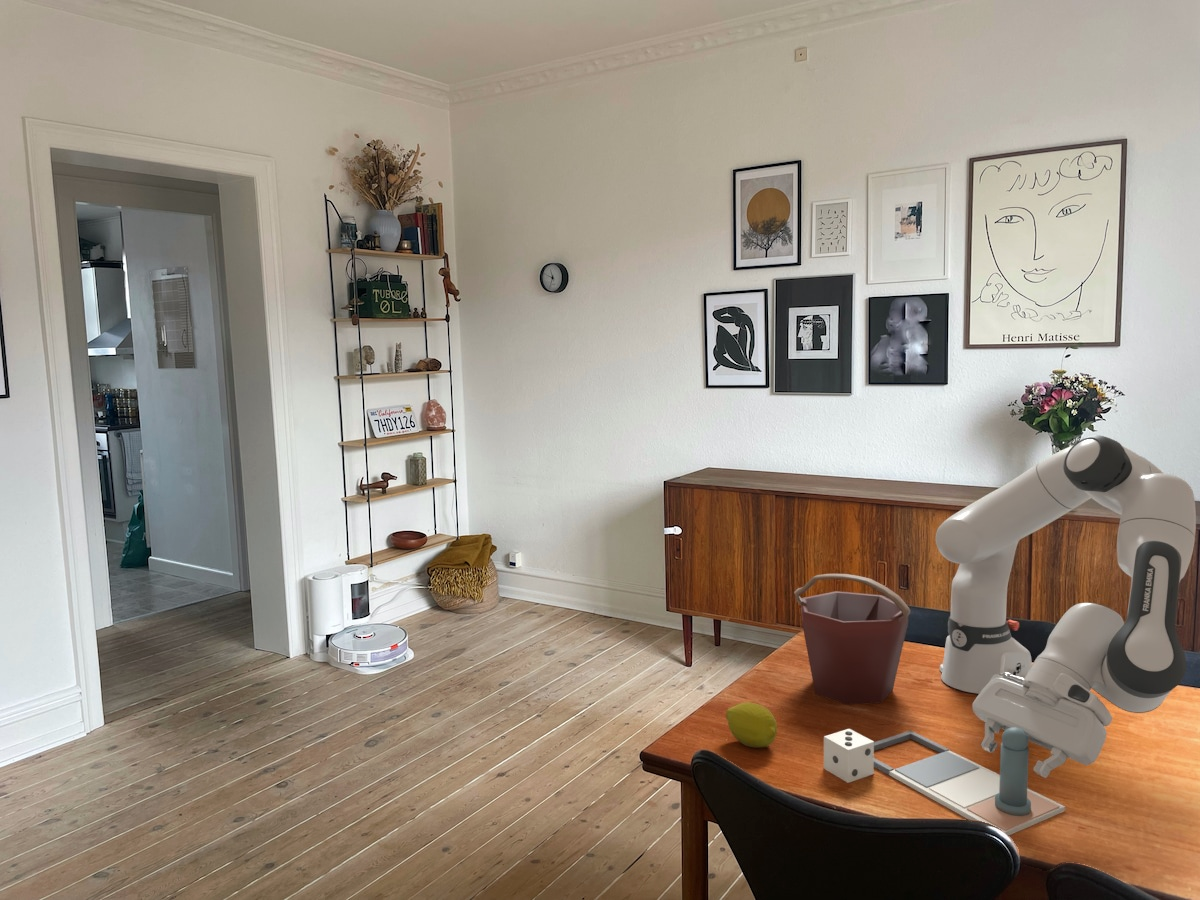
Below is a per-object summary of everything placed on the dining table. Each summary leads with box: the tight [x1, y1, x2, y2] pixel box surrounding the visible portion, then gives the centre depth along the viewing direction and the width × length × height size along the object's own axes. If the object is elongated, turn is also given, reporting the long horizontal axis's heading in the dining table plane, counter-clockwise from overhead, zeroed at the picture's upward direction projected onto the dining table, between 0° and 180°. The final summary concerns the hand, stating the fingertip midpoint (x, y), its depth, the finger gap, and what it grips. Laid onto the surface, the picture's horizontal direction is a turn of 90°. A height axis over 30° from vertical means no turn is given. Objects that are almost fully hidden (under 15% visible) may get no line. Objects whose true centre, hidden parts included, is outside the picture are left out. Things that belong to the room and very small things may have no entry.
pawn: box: [995, 727, 1031, 816], centre depth 138 cm, size 5×5×13 cm
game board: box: [874, 729, 1066, 837], centre depth 149 cm, size 15×32×1 cm, turn 28°
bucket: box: [793, 573, 911, 705], centre depth 188 cm, size 24×22×25 cm
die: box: [823, 728, 875, 784], centre depth 153 cm, size 6×6×6 cm
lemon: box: [725, 701, 778, 749], centre depth 164 cm, size 11×8×8 cm
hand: (1012, 761), depth 138 cm, fingers open, 8 cm apart
